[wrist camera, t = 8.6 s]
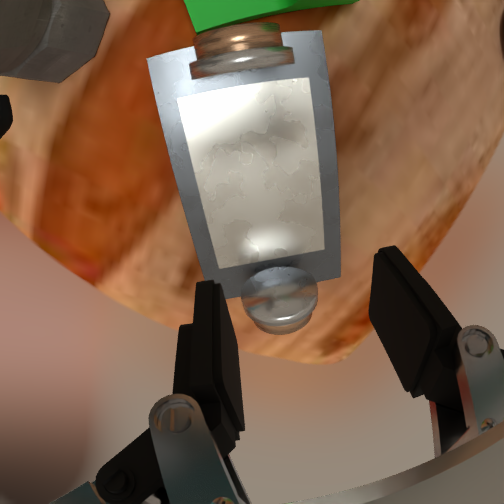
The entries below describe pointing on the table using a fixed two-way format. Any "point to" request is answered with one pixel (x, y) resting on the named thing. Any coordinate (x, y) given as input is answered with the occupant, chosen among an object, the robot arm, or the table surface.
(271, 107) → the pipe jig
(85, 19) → the coffeepot
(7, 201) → the table surface
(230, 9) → the mechanical part
